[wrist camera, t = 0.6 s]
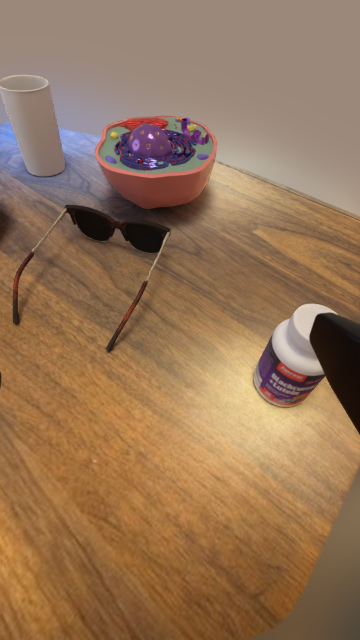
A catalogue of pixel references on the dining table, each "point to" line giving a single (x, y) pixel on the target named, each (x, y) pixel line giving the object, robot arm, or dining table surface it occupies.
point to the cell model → (157, 159)
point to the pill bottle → (290, 360)
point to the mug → (33, 123)
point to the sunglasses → (101, 229)
